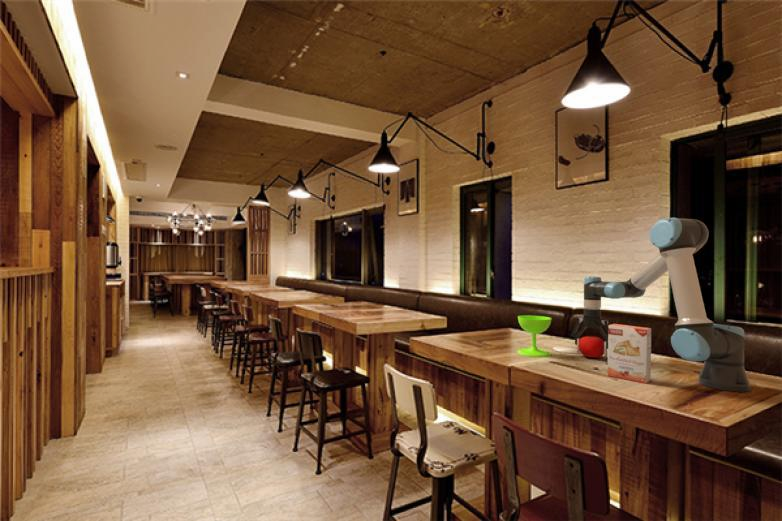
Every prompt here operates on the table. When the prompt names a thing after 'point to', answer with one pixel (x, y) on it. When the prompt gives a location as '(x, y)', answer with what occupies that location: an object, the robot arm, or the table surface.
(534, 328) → the wineglass
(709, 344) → the robot arm
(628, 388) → the table surface
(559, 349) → the plate
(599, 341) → the tomato
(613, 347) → the cracker box
